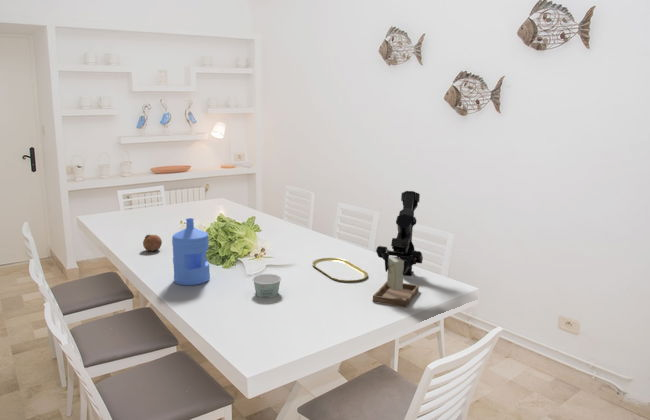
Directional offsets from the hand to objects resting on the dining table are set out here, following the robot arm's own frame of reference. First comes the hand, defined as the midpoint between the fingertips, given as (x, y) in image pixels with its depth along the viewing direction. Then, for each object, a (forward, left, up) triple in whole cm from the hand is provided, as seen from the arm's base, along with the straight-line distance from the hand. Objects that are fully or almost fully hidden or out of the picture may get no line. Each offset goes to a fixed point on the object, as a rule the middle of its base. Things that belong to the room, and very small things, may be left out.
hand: (394, 272), depth 205 cm
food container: (+17, -50, -12) cm, 54 cm away
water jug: (+18, -88, -12) cm, 91 cm away
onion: (-9, -135, -12) cm, 136 cm away
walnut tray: (-4, 0, -12) cm, 12 cm away
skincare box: (-1, 0, -7) cm, 7 cm away
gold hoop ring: (-24, -34, -12) cm, 43 cm away
